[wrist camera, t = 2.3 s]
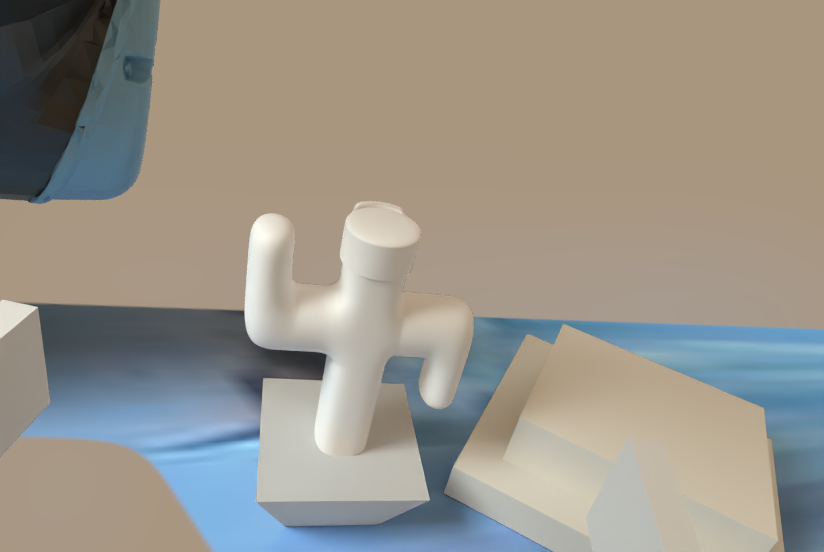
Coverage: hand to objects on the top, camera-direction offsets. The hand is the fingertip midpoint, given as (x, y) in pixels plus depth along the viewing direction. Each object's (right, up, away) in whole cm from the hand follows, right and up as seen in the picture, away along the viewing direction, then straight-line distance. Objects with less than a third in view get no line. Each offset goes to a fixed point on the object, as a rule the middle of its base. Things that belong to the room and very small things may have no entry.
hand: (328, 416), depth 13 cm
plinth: (+14, -8, +21) cm, 26 cm away
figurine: (-2, -7, +16) cm, 18 cm away
